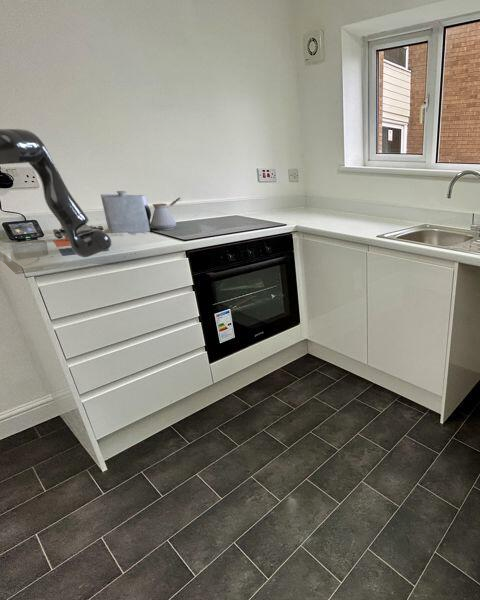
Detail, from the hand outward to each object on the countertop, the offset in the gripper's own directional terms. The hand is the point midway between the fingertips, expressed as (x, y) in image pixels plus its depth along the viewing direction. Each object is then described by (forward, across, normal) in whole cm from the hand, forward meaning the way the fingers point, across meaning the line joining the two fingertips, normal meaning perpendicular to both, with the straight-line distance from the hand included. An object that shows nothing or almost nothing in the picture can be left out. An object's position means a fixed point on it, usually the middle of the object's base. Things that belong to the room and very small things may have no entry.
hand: (77, 229), depth 138 cm
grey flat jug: (+39, -24, +8) cm, 47 cm away
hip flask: (+30, -22, +8) cm, 39 cm away
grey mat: (-2, 0, +8) cm, 8 cm away
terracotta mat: (+17, 0, +8) cm, 19 cm away
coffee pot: (+34, -41, +8) cm, 54 cm away
